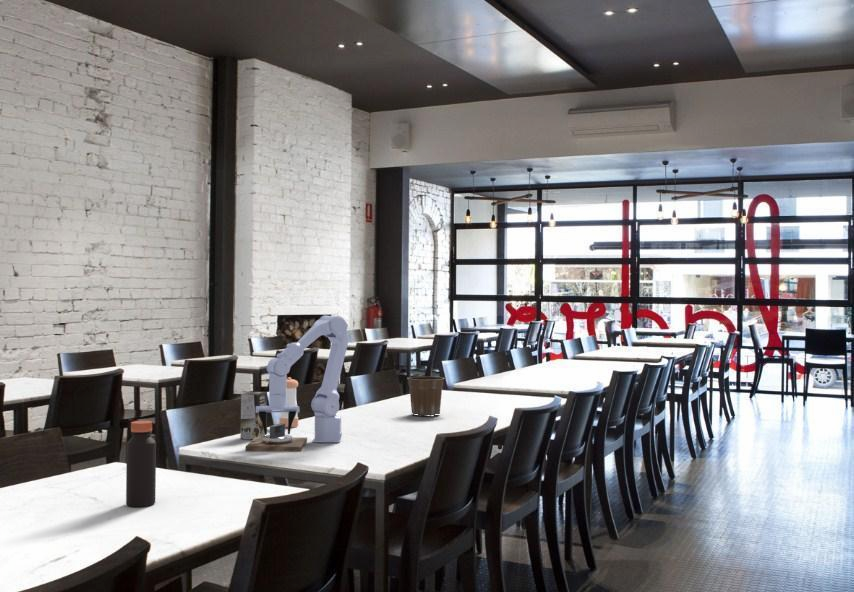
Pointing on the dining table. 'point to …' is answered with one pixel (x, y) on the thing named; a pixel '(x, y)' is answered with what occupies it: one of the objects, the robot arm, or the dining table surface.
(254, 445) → the dial plate
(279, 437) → the dial
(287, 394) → the pepper shaker
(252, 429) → the coffee box
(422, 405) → the plant pot
